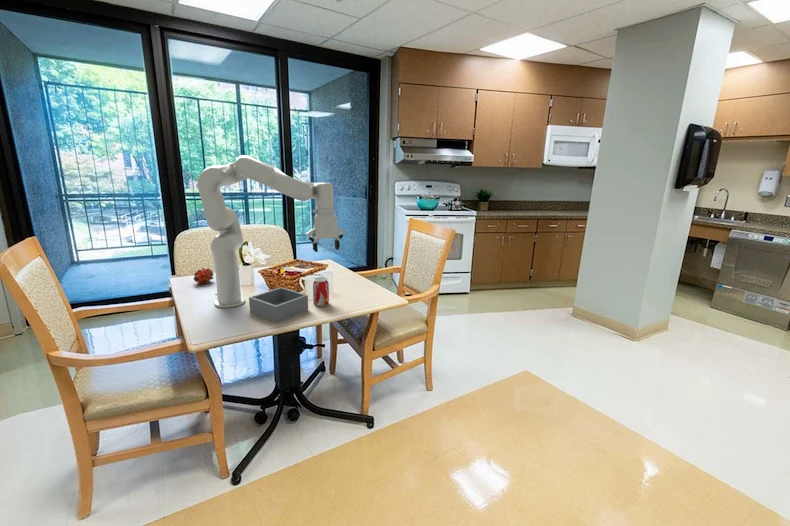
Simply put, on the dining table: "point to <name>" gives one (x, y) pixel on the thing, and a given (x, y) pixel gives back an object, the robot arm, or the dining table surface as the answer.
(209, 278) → the dragon fruit
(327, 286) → the soda can
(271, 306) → the crate
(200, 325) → the dining table surface
